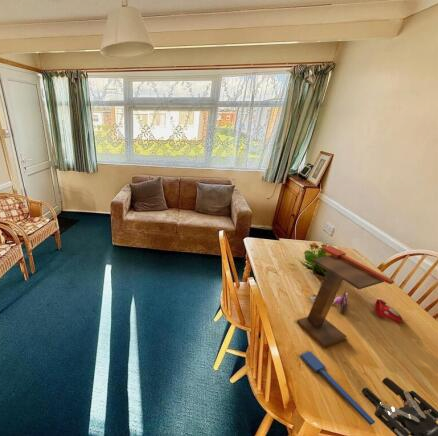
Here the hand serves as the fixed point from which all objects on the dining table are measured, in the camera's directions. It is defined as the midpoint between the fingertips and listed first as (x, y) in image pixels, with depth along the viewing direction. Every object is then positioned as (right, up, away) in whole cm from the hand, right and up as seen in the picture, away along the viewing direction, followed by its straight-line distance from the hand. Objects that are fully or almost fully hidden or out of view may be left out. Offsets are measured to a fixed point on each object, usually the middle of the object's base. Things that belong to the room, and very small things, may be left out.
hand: (373, 384), depth 65 cm
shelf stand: (+8, 0, +30) cm, 31 cm away
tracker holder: (+44, +4, +38) cm, 58 cm away
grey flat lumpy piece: (+18, +7, +44) cm, 48 cm away
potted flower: (+34, +15, +62) cm, 72 cm away
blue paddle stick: (-2, -8, +12) cm, 15 cm away
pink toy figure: (+25, +6, +42) cm, 50 cm away
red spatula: (+11, +31, +20) cm, 38 cm away
